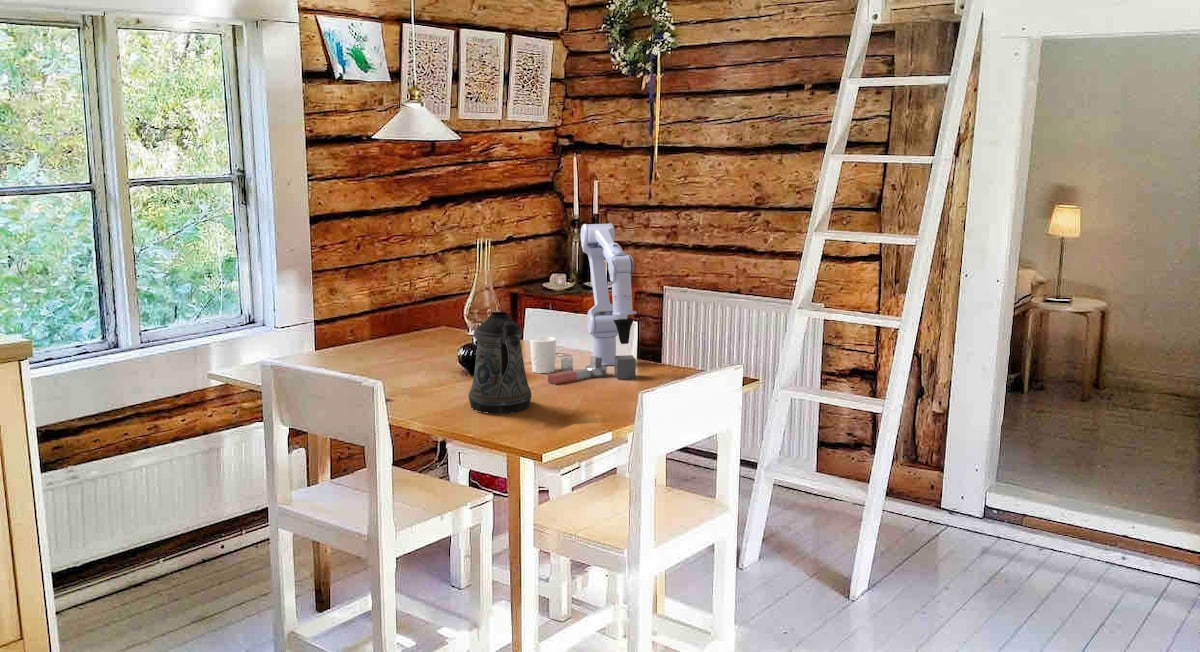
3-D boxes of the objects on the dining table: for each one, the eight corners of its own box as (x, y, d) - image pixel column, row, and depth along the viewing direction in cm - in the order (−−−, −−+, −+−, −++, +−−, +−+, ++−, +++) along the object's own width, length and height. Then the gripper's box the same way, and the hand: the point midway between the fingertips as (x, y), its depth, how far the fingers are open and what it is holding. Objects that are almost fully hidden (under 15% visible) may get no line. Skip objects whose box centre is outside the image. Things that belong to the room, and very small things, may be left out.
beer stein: (497, 395, 275) (495, 305, 270) (553, 405, 264) (551, 312, 259) (455, 408, 262) (452, 314, 257) (512, 419, 251) (510, 321, 246)
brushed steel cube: (614, 375, 298) (614, 355, 296) (632, 374, 298) (632, 355, 297) (617, 379, 292) (617, 359, 291) (635, 379, 293) (635, 359, 292)
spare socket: (560, 370, 304) (560, 358, 303) (572, 370, 305) (572, 357, 304) (561, 373, 301) (561, 360, 300) (573, 373, 301) (573, 360, 300)
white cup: (552, 374, 299) (552, 342, 297) (527, 373, 301) (526, 341, 299) (559, 369, 307) (558, 337, 305) (534, 367, 308) (533, 336, 306)
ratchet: (597, 371, 302) (597, 354, 301) (611, 375, 298) (611, 357, 297) (544, 381, 290) (544, 363, 289) (557, 385, 285) (557, 366, 284)
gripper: (636, 296, 285) (639, 343, 286) (634, 296, 300) (636, 341, 300) (612, 297, 285) (614, 345, 286) (611, 297, 300) (613, 342, 300)
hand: (624, 343), depth 293 cm, fingers open, 7 cm apart
